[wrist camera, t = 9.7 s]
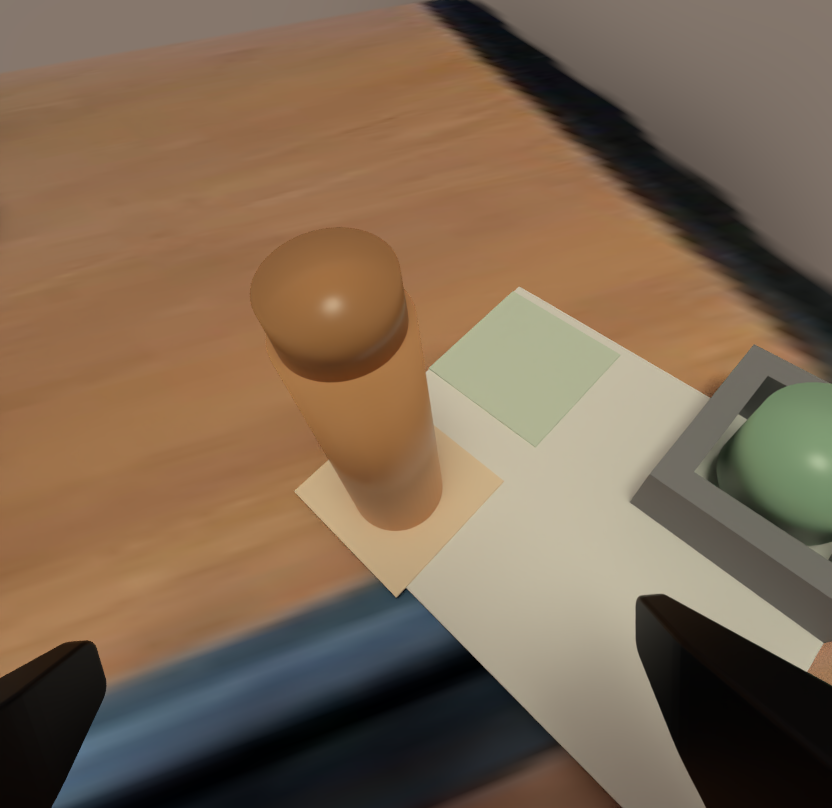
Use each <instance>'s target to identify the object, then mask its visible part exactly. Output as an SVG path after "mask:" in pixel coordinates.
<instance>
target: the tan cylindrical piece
mask: <svg viewBox="0 0 832 808" xmlns="http://www.w3.org/2000/svg"><path fill="white" fill-rule="evenodd" d="M250 301H251V306H252V309H253V311H254V313H255V315H256V317H257V318H258V320H259V322H260V324H261V326H262V327H263V329H264V331H265V333H266V348H267V352H268V355H269V358H270V360H271V362H272V364H273V365H274V367H275V369H276V371H277V372H278V374H279V376H280V377H281V379H282V381H283V382H284V384H285V386H286V388H287V389H288V391H289V393H290V394H291V396H292V398H293V400H294V401H295V403H296V405H297V406H298V408H299V410H300V412H301V413H302V415H303V417H304V418H305V420H306V422H307V423H308V425H309V427H310V429H311V430H312V432H313V434H314V435H315V437H316V439H317V441H318V442H319V444H320V446H321V447H322V449H323V451H324V453H325V454H326V456H327V458H328V459H329V461H330V463H331V464H332V466H333V468H334V470H335V471H336V473H337V475H338V476H339V478H340V480H341V482H342V483H343V485H344V487H345V488H346V490H347V492H348V494H349V495H350V497H351V499H352V500H353V502H354V504H355V505H356V507H357V509H358V511H359V512H360V514H361V515H362V516H363V517H364V518H365V519H366V520H367V521H368V522H369V523H371V524H372V525H374V526H376V527H378V528H381V529H384V530H389V531H401V530H407V529H410V528H413V527H415V526H417V525H419V524H421V523H422V522H424V521H425V520H426V519H427V518H429V517H430V516H431V514H432V513H433V512H434V511H435V509H436V508H437V506H438V504H439V502H440V499H441V495H442V485H443V484H442V476H441V470H440V463H439V457H438V450H437V444H436V437H435V430H434V424H433V417H432V411H431V404H430V398H429V391H428V384H427V378H426V371H425V365H424V358H423V352H422V345H421V338H420V332H419V325H418V319H417V312H416V309H415V305H414V303H413V301H412V299H411V297H410V296H409V294H408V293H407V291H406V290H405V289H404V287H403V281H402V276H401V270H400V265H399V261H398V258H397V256H396V254H395V252H394V251H393V250H392V248H391V247H390V246H389V245H388V244H387V243H386V242H385V241H383V240H382V239H381V238H379V237H377V236H375V235H374V234H371V233H369V232H366V231H363V230H359V229H353V228H341V227H337V228H326V229H319V230H315V231H311V232H308V233H305V234H302V235H300V236H297V237H295V238H293V239H291V240H289V241H287V242H286V243H284V244H282V245H281V246H279V247H278V248H277V249H275V250H274V251H273V252H272V253H271V254H270V255H269V256H268V257H267V258H266V259H265V260H264V261H263V262H262V263H261V265H260V266H259V268H258V269H257V271H256V273H255V275H254V277H253V280H252V283H251V288H250Z"/></svg>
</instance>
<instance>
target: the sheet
mask: <svg viewBox="0 0 832 808" xmlns="http://www.w3.org/2000/svg"><path fill="white" fill-rule="evenodd" d="M426 378H427V384H428V391H429V398H430V404H431V411H432V417H433V424H434V430H435V437H436V444H437V450H438V457H439V463H440V470H441V476H442V484H443V485H442V495H441V499H440V502H439V504H438V506H437V508H436V509H435V511H434V512H433V513H432V514H431V516H430V517H429V518H427V519H426V520H425V521H424V522H422V523H421V524H419V525H417V526H415V527H413V528H410V529H407V530H401V531H389V530H384V529H381V528H378V527H376V526H374V525H372V524H371V523H369V522H368V521H367V520H366V519H365V518H364V517H363V516H362V515H361V514H360V512H359V511H358V509H357V507H356V505H355V504H354V502H353V500H352V499H351V497H350V495H349V494H348V492H347V490H346V488H345V487H344V485H343V483H342V482H341V480H340V478H339V476H338V475H337V473H336V471H335V470H334V468H333V466H332V464H331V463H330V461H329V460H328V461H327V462H326V463H325V464H324V465H322V466H321V467H320V468H319V469H318V470H317V471H316V472H315V473H314V474H313V475H311V476H310V477H309V478H308V479H307V480H306V481H305V482H304V483H303V484H302V485H301V486H299V487H298V488H297V489H296V490H295V491H294V492H295V493H296V494H297V495H298V496H299V497H300V498H301V499H302V500H303V501H304V502H305V503H306V504H307V505H308V506H309V507H310V509H311V510H312V511H313V512H314V513H315V514H316V515H317V516H318V517H319V518H320V519H321V520H322V521H323V522H324V523H325V524H326V525H327V526H328V527H329V528H330V529H331V530H332V531H333V532H334V533H335V535H336V536H337V537H338V538H339V539H340V540H341V541H342V542H343V543H344V544H345V545H346V546H347V547H348V548H349V549H350V550H351V551H352V552H353V553H354V554H355V555H356V556H357V557H358V558H359V560H360V561H361V562H362V563H363V564H364V565H365V566H366V567H367V568H368V569H369V570H370V571H371V572H372V573H373V574H374V575H375V576H376V577H377V578H378V579H379V580H380V581H381V582H382V583H383V584H384V586H385V587H386V588H387V589H388V590H389V591H390V592H391V593H392V594H393V595H394V596H395V597H396V598H397V597H398V596H399V595H400V594H401V593H402V592H403V590H404V589H405V588H407V589H408V590H409V591H410V592H411V593H412V594H413V596H414V597H415V598H416V599H417V600H418V601H419V602H420V603H421V604H422V605H423V606H424V607H425V608H426V609H427V610H428V611H429V612H430V613H431V614H432V615H433V616H434V617H435V618H436V619H437V620H438V621H439V622H440V623H441V624H442V625H443V626H444V627H445V628H446V629H447V630H448V631H449V632H450V633H451V634H452V635H453V636H454V637H455V638H456V639H457V640H458V641H459V642H460V643H461V644H462V645H463V646H464V647H465V648H466V649H467V650H468V651H469V652H470V653H471V654H472V656H473V657H474V658H475V659H476V660H477V661H478V662H479V663H480V664H481V665H482V666H483V667H484V668H485V669H486V670H487V671H488V672H489V673H490V674H491V675H492V676H493V677H494V678H495V679H496V680H497V681H498V682H499V683H500V684H501V685H502V686H503V687H504V688H505V689H506V690H507V691H508V692H509V693H510V694H511V695H512V696H513V697H514V698H515V699H516V700H517V701H518V702H519V703H520V704H521V705H522V706H523V707H524V708H525V709H526V710H527V711H528V712H529V713H530V714H531V716H532V717H533V718H534V719H535V720H536V721H537V722H538V723H539V724H540V725H541V726H542V727H543V728H544V729H545V730H546V731H547V732H548V733H549V734H550V735H551V736H552V737H553V738H554V739H555V740H556V741H557V742H558V743H559V744H560V745H561V746H562V747H563V748H564V749H565V750H566V751H567V752H568V753H569V754H570V755H571V756H572V757H573V758H574V759H575V760H576V761H577V762H578V763H579V764H580V765H581V766H582V767H583V768H584V769H585V770H586V771H587V772H588V773H589V774H590V776H591V777H592V778H593V779H594V780H595V781H596V782H597V783H598V784H599V785H600V786H601V787H602V788H603V789H604V790H605V791H606V792H607V793H608V794H609V795H610V796H611V797H612V798H613V799H614V800H615V801H616V802H617V803H618V804H619V805H620V806H621V807H622V808H706V807H705V805H704V803H703V801H702V799H701V797H700V795H699V793H698V791H697V789H696V787H695V786H694V784H693V782H692V780H691V778H690V776H689V774H688V772H687V770H686V768H685V766H684V764H683V762H682V760H681V758H680V756H679V754H678V751H677V749H676V747H675V744H674V742H673V740H672V737H671V735H670V732H669V730H668V727H667V725H666V722H665V720H664V717H663V715H662V712H661V710H660V707H659V705H658V702H657V700H656V697H655V695H654V692H653V690H652V687H651V685H650V682H649V680H648V677H647V675H646V672H645V670H644V667H643V665H642V662H641V660H640V657H639V654H638V651H637V647H636V639H635V605H636V600H637V598H638V597H639V596H640V595H649V594H665V595H667V596H669V597H671V598H673V599H675V600H676V601H678V602H680V603H682V604H684V605H686V606H687V607H689V608H691V609H693V610H695V611H696V612H698V613H700V614H702V615H704V616H706V617H707V618H709V619H711V620H713V621H715V622H717V623H718V624H720V625H722V626H724V627H726V628H728V629H729V630H731V631H733V632H735V633H737V634H738V635H740V636H742V637H744V638H746V639H748V640H749V641H751V642H753V643H755V644H757V645H759V646H760V647H762V648H764V649H766V650H768V651H770V652H771V653H773V654H775V655H777V656H779V657H780V658H782V659H784V660H786V661H788V662H790V663H791V664H793V665H795V666H797V667H799V668H801V669H802V670H804V671H806V672H807V671H808V669H809V668H810V666H811V664H812V662H813V661H814V659H815V657H816V655H817V654H818V652H819V650H820V648H821V647H822V645H823V643H826V642H831V641H832V542H829V543H826V544H822V545H814V546H806V545H805V544H803V543H802V542H800V541H799V540H797V539H795V538H794V537H792V536H791V535H789V534H788V533H786V532H785V531H783V530H782V529H780V528H779V527H777V526H776V525H774V524H773V523H771V522H770V521H768V520H767V519H765V518H764V517H762V516H760V515H759V514H757V513H756V512H754V511H753V510H751V509H750V508H748V507H747V506H745V505H744V504H742V503H741V502H739V501H738V500H736V499H735V498H733V497H732V496H730V495H729V494H727V493H725V492H724V491H722V490H721V489H720V486H719V483H718V479H717V471H716V469H717V460H718V456H719V453H720V451H721V449H722V448H723V446H724V445H725V443H726V442H727V441H728V440H729V439H730V438H731V437H732V436H733V435H734V434H735V433H736V431H737V430H738V429H739V428H740V427H741V426H742V425H743V424H744V423H745V422H746V421H747V420H748V418H749V417H750V416H751V415H752V414H753V413H754V412H755V411H756V410H757V409H758V408H759V407H760V405H761V404H762V403H763V402H764V401H765V400H766V399H767V398H768V397H769V396H770V395H772V394H773V393H774V392H776V391H778V390H780V389H781V388H784V387H787V386H790V385H794V384H798V383H807V382H819V383H828V382H826V381H824V380H822V379H820V378H818V377H816V376H814V375H812V374H810V373H808V372H807V371H805V370H803V369H801V368H799V367H797V366H795V365H793V364H791V363H789V362H787V361H785V360H783V359H781V358H780V357H778V356H776V355H774V354H772V353H770V352H768V351H766V350H764V349H762V348H760V347H758V346H756V345H753V346H752V347H751V349H750V350H749V351H748V352H747V354H746V355H745V356H744V357H743V359H742V360H741V361H740V362H739V364H738V365H737V366H736V367H735V369H734V370H733V371H732V372H731V374H730V375H729V376H728V377H727V379H726V380H725V381H724V382H723V383H722V385H721V386H720V387H719V388H718V390H717V391H716V392H715V393H714V395H713V396H712V397H711V398H709V397H708V396H706V395H704V394H703V393H701V392H699V391H697V390H696V389H694V388H692V387H691V386H689V385H687V384H685V383H684V382H682V381H680V380H679V379H677V378H675V377H673V376H672V375H670V374H668V373H667V372H665V371H663V370H661V369H660V368H658V367H656V366H655V365H653V364H651V363H649V362H648V361H646V360H644V359H643V358H641V357H639V356H637V355H636V354H634V353H632V352H631V351H629V350H627V349H625V348H624V347H622V346H620V345H619V344H617V343H615V342H614V341H612V340H610V339H608V338H607V337H605V336H603V335H602V334H600V333H598V332H596V331H595V330H593V329H591V328H590V327H588V326H586V325H584V324H583V323H581V322H579V321H578V320H576V319H574V318H572V317H571V316H569V315H567V314H566V313H564V312H562V311H560V310H559V309H557V308H555V307H554V306H552V305H550V304H548V303H547V302H545V301H543V300H542V299H540V298H538V297H536V296H535V295H533V294H531V293H530V292H528V291H526V290H524V289H523V288H521V287H518V288H517V289H516V290H515V291H513V292H511V293H510V294H509V295H508V296H507V297H506V298H505V299H504V300H503V301H502V302H500V303H499V304H498V305H497V306H496V307H495V308H494V309H493V310H492V311H491V312H490V313H488V314H487V315H486V316H485V317H484V318H483V319H482V320H481V321H480V322H479V323H478V324H476V325H475V326H474V327H473V328H472V329H471V330H470V331H469V332H468V333H467V334H466V335H464V336H463V337H462V338H461V339H460V340H459V341H458V342H457V343H456V344H455V345H454V346H452V347H451V348H450V349H449V350H448V351H447V352H446V353H445V354H444V355H443V356H441V357H440V358H439V359H438V360H437V361H436V362H435V363H434V364H433V365H432V366H431V367H429V370H428V371H427V372H426ZM828 384H830V383H828Z"/></svg>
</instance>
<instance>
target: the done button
mask: <svg viewBox="0 0 832 808" xmlns="http://www.w3.org/2000/svg"><path fill="white" fill-rule="evenodd" d="M716 471H717V479H718V483H719V486H720V489H721V490H722V491H724V492H725V493H727V494H729V495H730V496H732V497H733V498H735V499H736V500H738V501H739V502H741V503H742V504H744V505H745V506H747V507H748V508H750V509H751V510H753V511H754V512H756V513H757V514H759V515H760V516H762V517H764V518H765V519H767V520H768V521H770V522H771V523H773V524H774V525H776V526H777V527H779V528H780V529H782V530H783V531H785V532H786V533H788V534H789V535H791V536H792V537H794V538H795V539H797V540H799V541H800V542H802V543H803V544H805V545H806V546H814V545H822V544H826V543H829V542H832V384H828V383H819V382H807V383H798V384H794V385H790V386H787V387H784V388H781V389H780V390H778V391H776V392H774V393H773V394H772V395H770V396H769V397H768V398H767V399H766V400H765V401H764V402H763V403H762V404H761V405H760V407H759V408H758V409H757V410H756V411H755V412H754V413H753V414H752V415H751V416H750V417H749V418H748V420H747V421H746V422H745V423H744V424H743V425H742V426H741V427H740V428H739V429H738V430H737V431H736V433H735V434H734V435H733V436H732V437H731V438H730V439H729V440H728V441H727V442H726V443H725V445H724V446H723V448H722V449H721V451H720V453H719V456H718V460H717V469H716Z"/></svg>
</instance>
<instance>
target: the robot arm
mask: <svg viewBox="0 0 832 808" xmlns="http://www.w3.org/2000/svg"><path fill="white" fill-rule="evenodd" d="M635 639H636V647H637V651H638V654H639V657H640V660H641V662H642V665H643V667H644V670H645V672H646V675H647V677H648V680H649V682H650V685H651V687H652V690H653V692H654V695H655V697H656V700H657V702H658V705H659V707H660V710H661V712H662V715H663V717H664V720H665V722H666V725H667V727H668V730H669V732H670V735H671V737H672V740H673V742H674V744H675V747H676V749H677V751H678V754H679V756H680V758H681V760H682V762H683V764H684V766H685V768H686V770H687V772H688V774H689V776H690V778H691V780H692V782H693V784H694V786H695V787H696V789H697V791H698V793H699V795H700V797H701V799H702V801H703V803H704V805H705V807H706V808H832V685H830V684H828V683H826V682H824V681H823V680H821V679H819V678H817V677H815V676H813V675H812V674H810V673H808V672H806V671H804V670H802V669H801V668H799V667H797V666H795V665H793V664H791V663H790V662H788V661H786V660H784V659H782V658H780V657H779V656H777V655H775V654H773V653H771V652H770V651H768V650H766V649H764V648H762V647H760V646H759V645H757V644H755V643H753V642H751V641H749V640H748V639H746V638H744V637H742V636H740V635H738V634H737V633H735V632H733V631H731V630H729V629H728V628H726V627H724V626H722V625H720V624H718V623H717V622H715V621H713V620H711V619H709V618H707V617H706V616H704V615H702V614H700V613H698V612H696V611H695V610H693V609H691V608H689V607H687V606H686V605H684V604H682V603H680V602H678V601H676V600H675V599H673V598H671V597H669V596H667V595H665V594H649V595H640V596H639V597H638V598H637V600H636V605H635ZM105 692H106V678H105V674H104V671H103V668H102V664H101V661H100V658H99V654H98V651H97V648H96V645H95V644H94V643H93V642H91V641H88V640H86V641H73V642H66V643H63V644H61V645H59V646H57V647H56V648H54V649H52V650H50V651H48V652H47V653H45V654H43V655H41V656H39V657H38V658H36V659H34V660H32V661H30V662H28V663H27V664H25V665H23V666H21V667H19V668H18V669H16V670H14V671H12V672H10V673H9V674H7V675H5V676H3V677H1V678H0V808H51V807H52V805H53V803H54V801H55V800H56V798H57V796H58V794H59V792H60V790H61V788H62V786H63V784H64V782H65V780H66V778H67V775H68V773H69V771H70V769H71V767H72V765H73V763H74V760H75V758H76V756H77V754H78V752H79V750H80V748H81V745H82V743H83V741H84V739H85V737H86V735H87V733H88V731H89V728H90V726H91V724H92V722H93V720H94V718H95V716H96V713H97V711H98V709H99V707H100V705H101V703H102V701H103V698H104V696H105Z"/></svg>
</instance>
